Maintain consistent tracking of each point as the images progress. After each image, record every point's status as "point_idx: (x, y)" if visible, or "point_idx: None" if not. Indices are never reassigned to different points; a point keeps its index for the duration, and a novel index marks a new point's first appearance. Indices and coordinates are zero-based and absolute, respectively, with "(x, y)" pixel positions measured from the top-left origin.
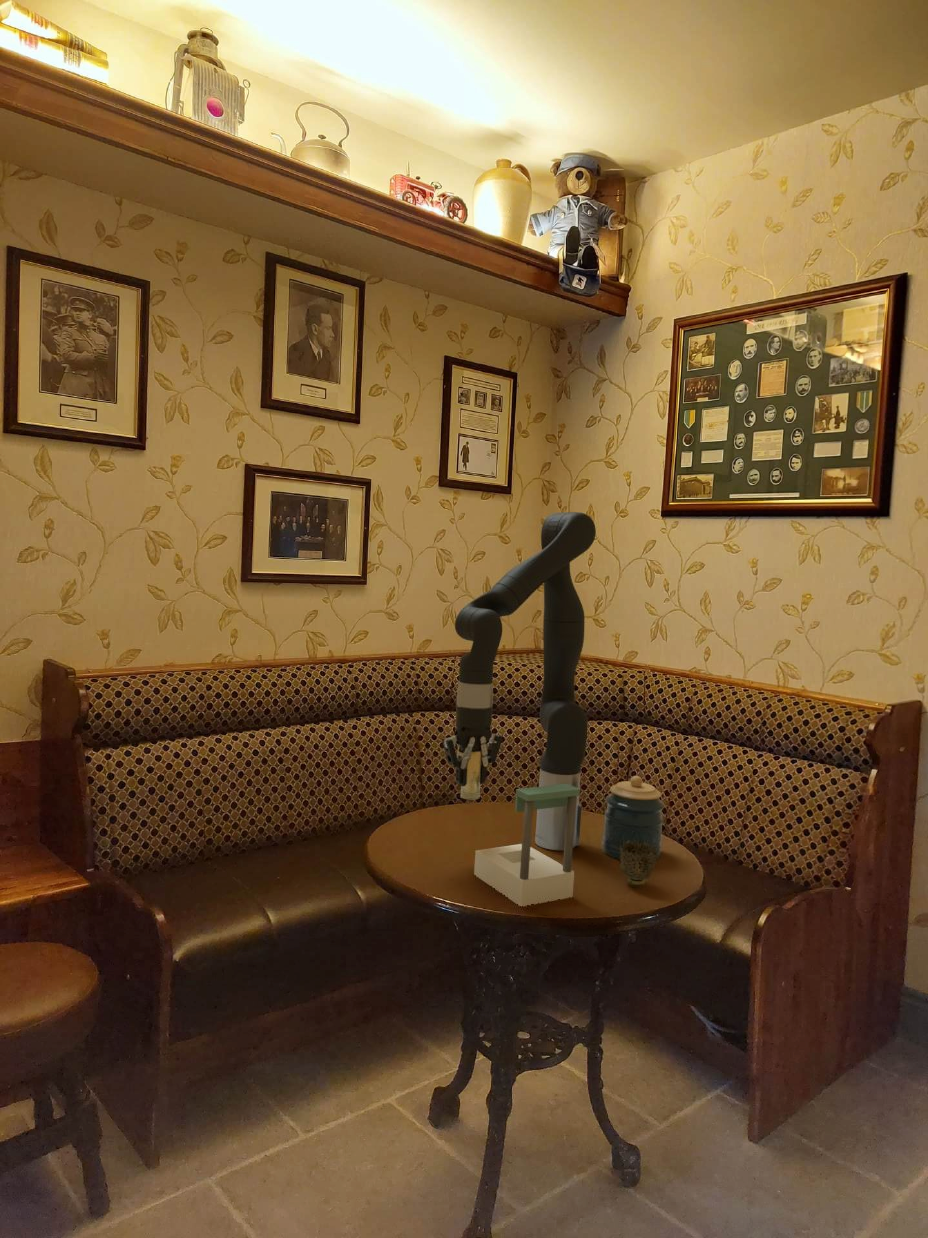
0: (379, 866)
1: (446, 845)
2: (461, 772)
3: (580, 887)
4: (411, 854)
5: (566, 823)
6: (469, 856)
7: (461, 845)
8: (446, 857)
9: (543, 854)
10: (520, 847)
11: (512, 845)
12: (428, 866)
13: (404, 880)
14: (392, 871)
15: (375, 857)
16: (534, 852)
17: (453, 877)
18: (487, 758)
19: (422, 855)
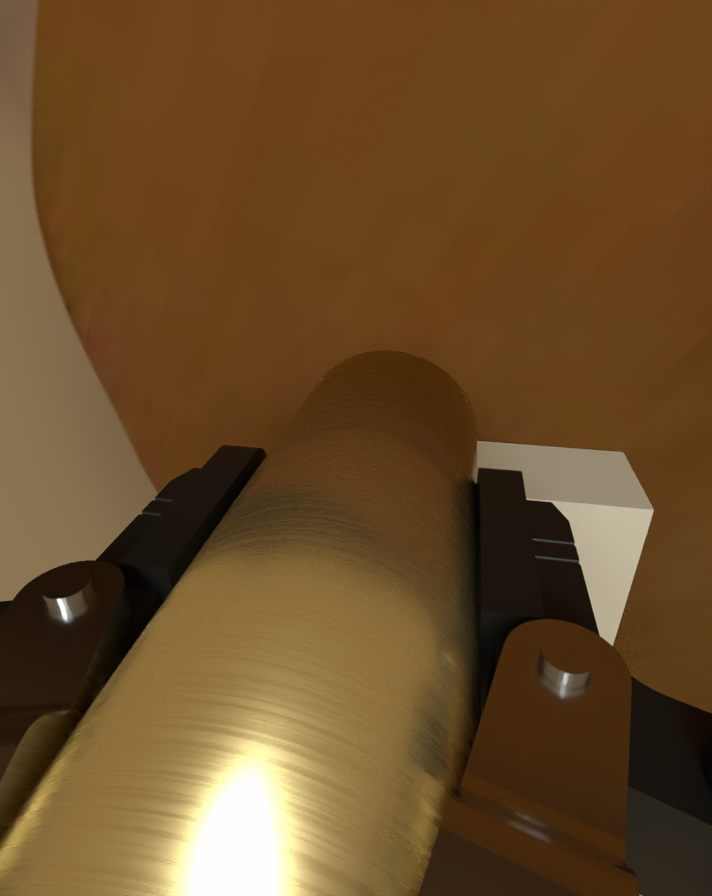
0: (43, 192)
1: (470, 10)
2: None
3: (653, 662)
4: (220, 90)
5: None
6: (485, 240)
7: (556, 47)
8: (369, 206)
9: (614, 635)
10: (587, 539)
11: (571, 506)
12: (242, 279)
13: (111, 368)
14: (85, 269)
15: (40, 62)
16: (597, 605)
17: (290, 419)
18: (639, 880)
19: (268, 128)
